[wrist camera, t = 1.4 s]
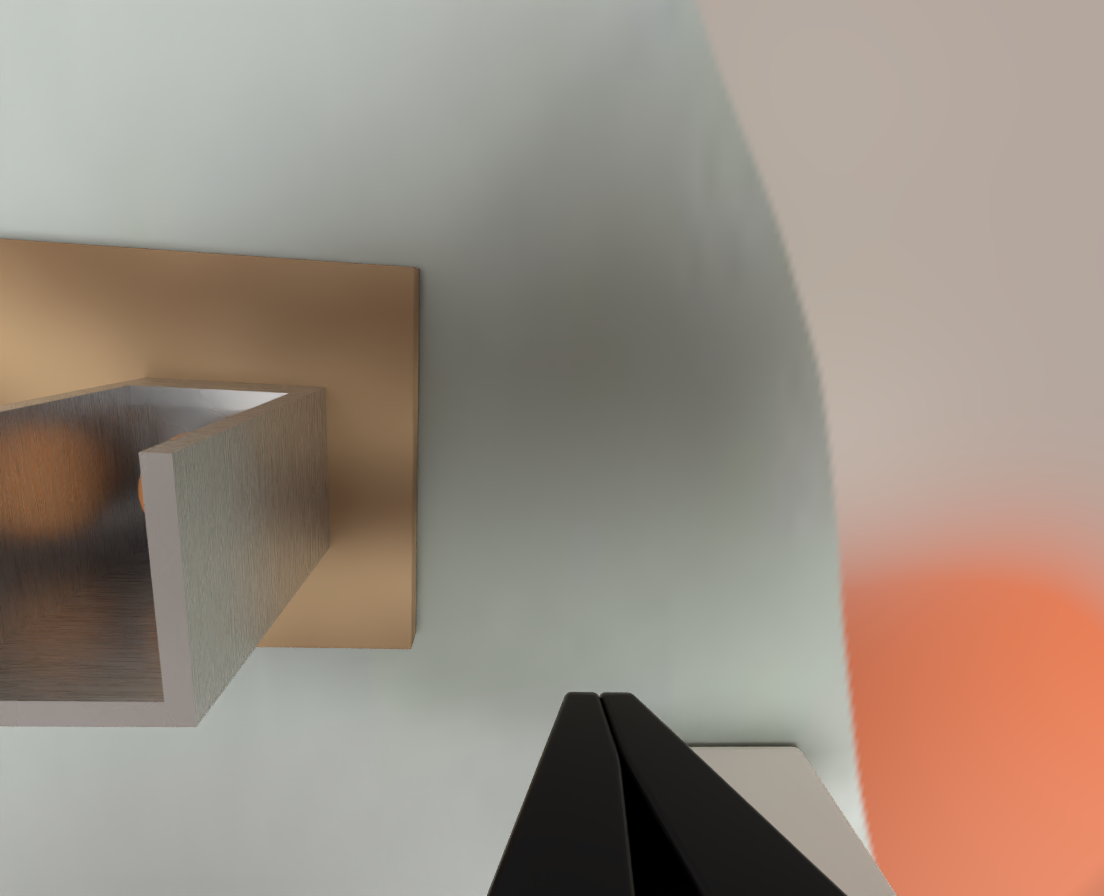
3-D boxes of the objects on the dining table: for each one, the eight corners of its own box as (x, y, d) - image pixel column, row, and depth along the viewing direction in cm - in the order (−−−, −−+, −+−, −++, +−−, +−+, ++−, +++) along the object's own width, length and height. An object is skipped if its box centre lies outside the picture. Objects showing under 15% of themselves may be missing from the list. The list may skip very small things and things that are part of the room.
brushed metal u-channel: (330, 547, 18) (196, 726, 10) (160, 542, 18) (-112, 726, 10) (325, 386, 17) (171, 453, 9) (144, 377, 17) (-177, 439, 9)
